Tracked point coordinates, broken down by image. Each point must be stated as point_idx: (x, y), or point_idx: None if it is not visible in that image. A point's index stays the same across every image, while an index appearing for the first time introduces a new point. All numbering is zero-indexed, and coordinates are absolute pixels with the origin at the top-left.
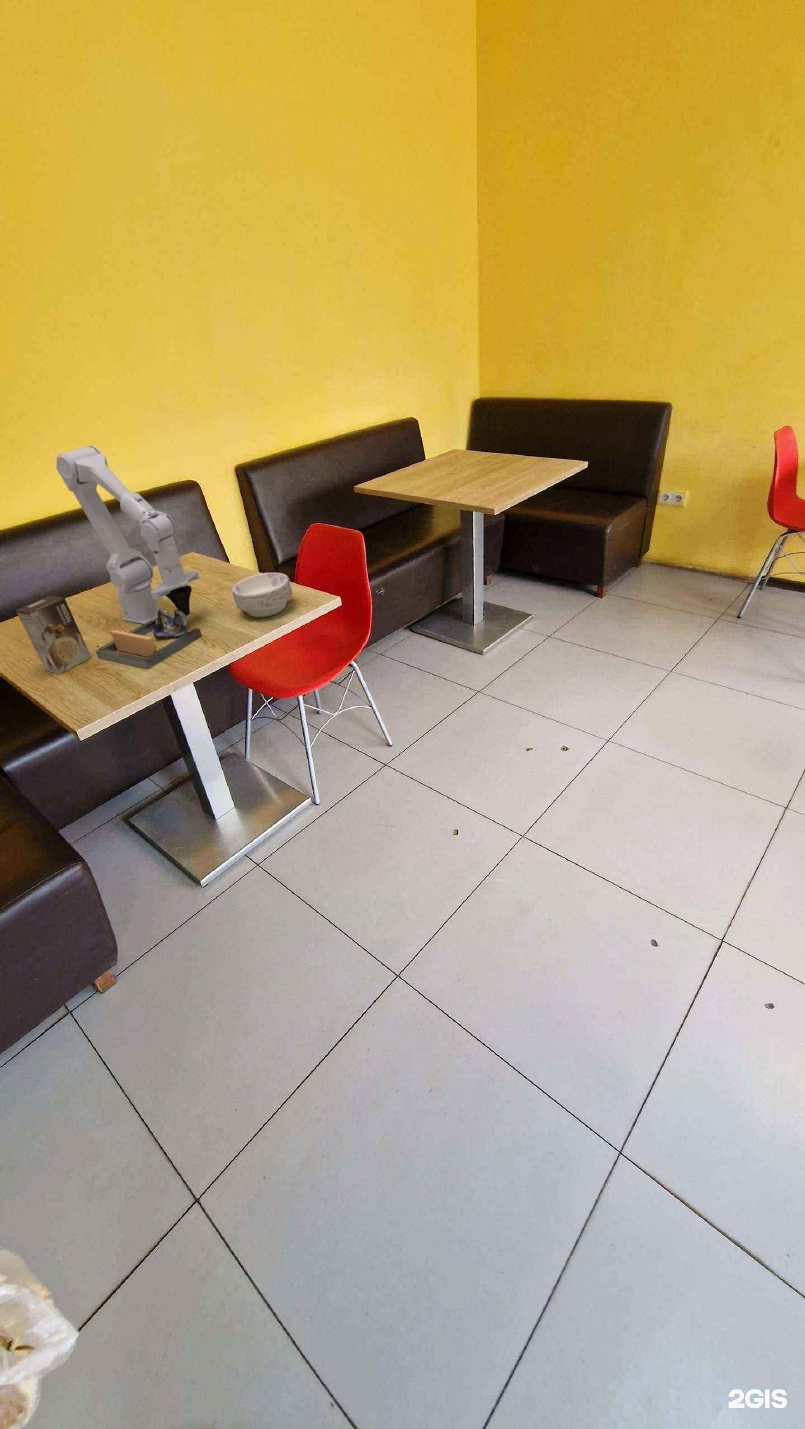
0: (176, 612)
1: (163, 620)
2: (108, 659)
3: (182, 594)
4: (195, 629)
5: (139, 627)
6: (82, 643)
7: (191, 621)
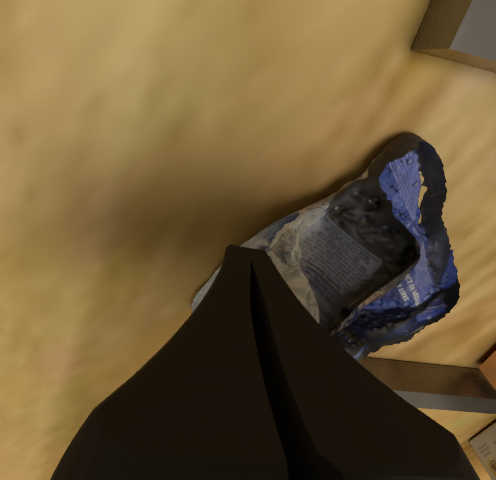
0: (316, 316)
1: None
2: None
3: (371, 436)
4: (487, 25)
5: None
6: None
7: (198, 237)
